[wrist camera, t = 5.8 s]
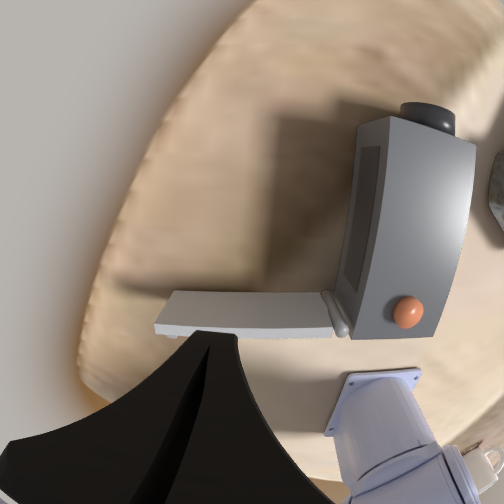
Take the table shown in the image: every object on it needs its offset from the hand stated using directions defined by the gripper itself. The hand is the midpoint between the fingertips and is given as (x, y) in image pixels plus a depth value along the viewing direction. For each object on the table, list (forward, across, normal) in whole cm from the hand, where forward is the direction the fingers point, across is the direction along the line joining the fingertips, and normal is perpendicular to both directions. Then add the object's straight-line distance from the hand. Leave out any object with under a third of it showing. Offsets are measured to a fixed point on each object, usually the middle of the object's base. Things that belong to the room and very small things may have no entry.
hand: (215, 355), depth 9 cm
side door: (+10, -1, +3) cm, 11 cm away
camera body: (+10, -10, -3) cm, 15 cm away
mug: (+11, -48, +39) cm, 63 cm away
